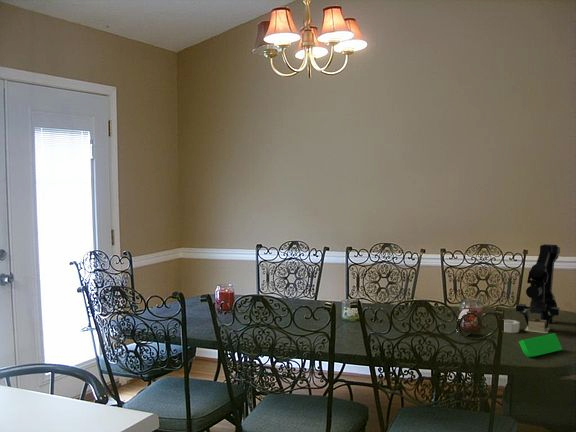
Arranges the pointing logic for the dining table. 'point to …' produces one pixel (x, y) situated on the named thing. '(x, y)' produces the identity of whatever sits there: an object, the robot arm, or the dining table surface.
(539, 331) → the mat
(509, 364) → the dining table surface
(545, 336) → the green rectangular block
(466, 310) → the figurine
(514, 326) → the bowl
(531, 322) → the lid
